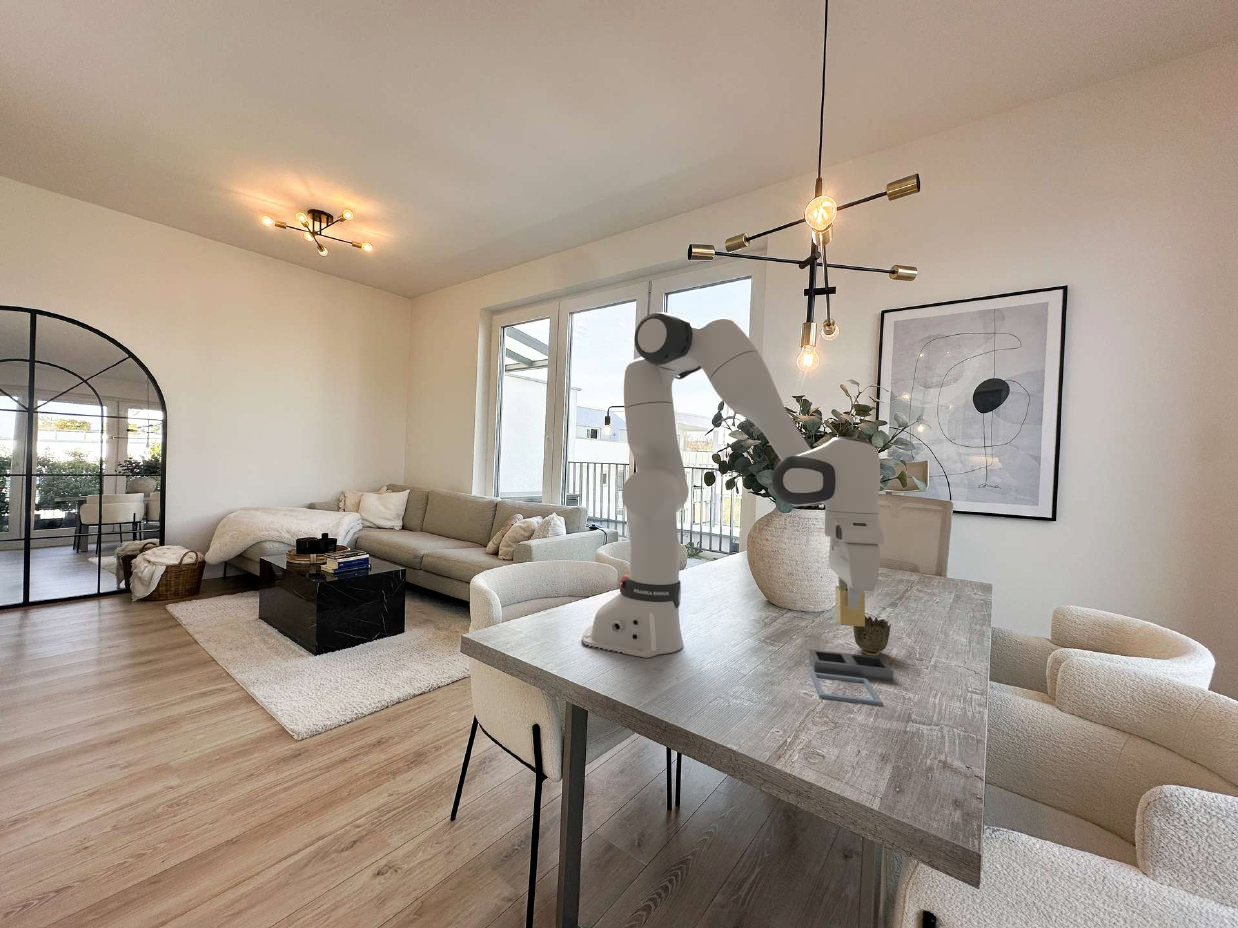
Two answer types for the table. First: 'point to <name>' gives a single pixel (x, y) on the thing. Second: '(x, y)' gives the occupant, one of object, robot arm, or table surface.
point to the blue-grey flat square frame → (874, 701)
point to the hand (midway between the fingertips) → (848, 604)
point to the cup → (872, 636)
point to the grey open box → (850, 665)
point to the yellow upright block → (843, 612)
